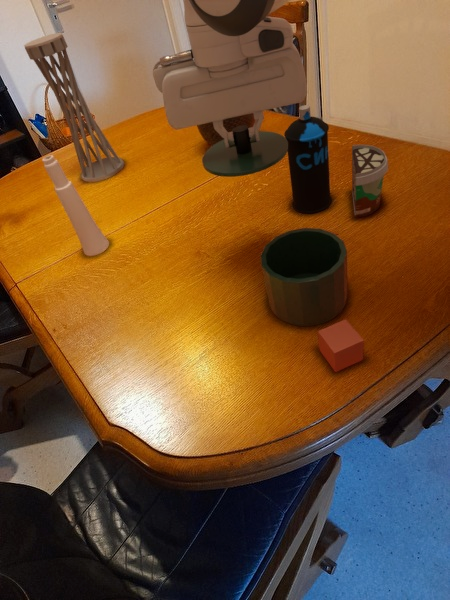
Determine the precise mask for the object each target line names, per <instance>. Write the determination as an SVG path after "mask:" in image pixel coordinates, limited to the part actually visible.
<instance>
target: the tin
mask: <svg viewBox="0 0 450 600" xmlns="http://www.w3.org/2000/svg"><path fill="white" fill-rule="evenodd" d="M260 264H261V265H260V266H261V269H262V274H263V280H264V285H265V290H266V295H267V299H268V305H269V307H270V309H271V311H272V313H273V315H275V316H276V317H277V318H278V319H279V320H281V321H282V322H285V323H286V324H289V325H293V326H298V327H314V326H318V325H322V324H325V323H328V322H329V321H331V320H333V319H334V318H336V317H337V316H339V314H340V313H342V311H344V308H345V306H346V304H347V299H348V251H347V248H346V245H345V242H344V240H343V239H341V238H340V237H339V236H338V235H336V233H334V232H331V231H328V230H325V229H322V228H315V227H302V228H297V229H291V230H287V231H285V232H283V233H281V234H278V235H277V236H274V238H272V239H270V241H269V242H268V243H266V244H265V246H264V247H263V249H262V252H261V254H260Z"/></svg>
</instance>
